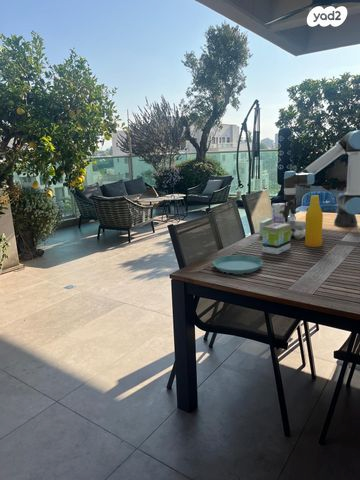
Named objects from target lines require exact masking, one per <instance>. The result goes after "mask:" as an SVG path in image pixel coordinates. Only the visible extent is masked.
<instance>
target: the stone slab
mask: <svg viewBox="0 0 360 480" xmlns="http://www.w3.org/2000/svg"><path fill="white" fill-rule="evenodd" d="M285 224H291V229H299V230H302V229H304V228H305V227H306V221H300V220H295V221H289V222H287V223H285Z"/></svg>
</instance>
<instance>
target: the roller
mask: <svg viewBox="0 0 360 480" xmlns="http://www.w3.org/2000/svg"><path fill="white" fill-rule="evenodd" d="M288 217H289V221H297V217H296V214H295V215H290V216H288ZM283 223H284V224H285V218H284V220H283Z"/></svg>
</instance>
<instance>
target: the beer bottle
mask: <svg viewBox="0 0 360 480" xmlns="http://www.w3.org/2000/svg"><path fill="white" fill-rule="evenodd" d="M309 200H310V201H309V206H308V208H307V211H306V213H305V222H306V228H305V236H304V239H305V240H304V245H305V246H307V247H310V248H318V247H322V244H323V218H324V215H323V211H322V208H321V205H320V196H319V195H316V194H315V195H310V199H309Z"/></svg>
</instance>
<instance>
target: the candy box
mask: <svg viewBox="0 0 360 480" xmlns="http://www.w3.org/2000/svg"><path fill="white" fill-rule="evenodd" d="M271 207H272V209H271V211H272V214H271V215H272V216H271V218H273V224H274V223H283V220H284V218H285V217H283V214H284V207H285V202H279V203H272V205H271ZM290 215H291V211H289V215H288V216H290Z"/></svg>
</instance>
